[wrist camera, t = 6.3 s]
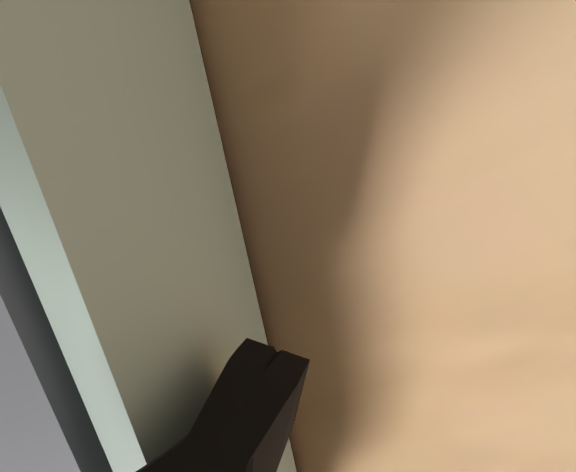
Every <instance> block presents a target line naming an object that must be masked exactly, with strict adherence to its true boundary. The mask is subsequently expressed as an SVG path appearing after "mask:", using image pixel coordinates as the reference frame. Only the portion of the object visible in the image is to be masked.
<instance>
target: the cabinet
mask: <svg viewBox="0 0 576 472" xmlns="http://www.w3.org/2000/svg"><path fill="white" fill-rule="evenodd" d="M0 472H113V471H112V468H111V466H110V464H109V461H108V459H107V456H106V454H105V452H104V449H103V447H102V445H101V442H100V440H99V438H98V435H97V433H96V431H95V428H94V426H93V424H92V421H91V419H90V416H89V414H88V412H87V409H86V407H85V405H84V402H83V400H82V398H81V395H80V393H79V391H78V388H77V386H76V383H75V381H74V379H73V376H72V374H71V372H70V369H69V367H68V365H67V362H66V360H65V358H64V355H63V353H62V350H61V348H60V346H59V343H58V341H57V339H56V336H55V334H54V332H53V329H52V327H51V325H50V322H49V320H48V317H47V315H46V313H45V310H44V308H43V306H42V303H41V301H40V299H39V296H38V294H37V292H36V289H35V287H34V284H33V282H32V280H31V277H30V275H29V273H28V270H27V268H26V266H25V263H24V261H23V259H22V256H21V254H20V251H19V249H18V247H17V244H16V242H15V240H14V237H13V235H12V233H11V230H10V228H9V226H8V223H7V221H6V219H5V216H4V214H3V211H2V209H1V207H0Z"/></svg>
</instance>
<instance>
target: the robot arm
mask: <svg viewBox="0 0 576 472" xmlns="http://www.w3.org/2000/svg"><path fill="white" fill-rule="evenodd" d="M309 361H310V360H309V359H306V358H303V357H300V356H297V355H295V354H292V353H289V352H286V351H283V350H281V351H279V352H277V351H276V350H275V348H274V347H272V346H269V345H266V344H263V343H260V342H257V341H255V340H252V339H249V338H246V339H245V340H244V341H243V343H242V344H241V345H240V346H239V347H238V348H237V349H236V351H235V352H234V353H233V354H232V356H231V357H230V358H229V360H228V361H227V363H226V365H225V367H224V369H223V371H222V372H221V374H220V376H219V378H218V380H217V382H216V383H215V385H214V387H213V389H212V391H211V393H210V395H209V397H208V398H207V400H206V402H205V404H204V406H203V408H202V410H201V412H200V413H199V415H198V417H197V419H196V421H195V423H194V425H193V426H192V428H191V430H190V432H189V434H188V435H187V436H186V437H184V438H183V439H182V440H181V441H179V442H178V443H176V444H175V445H174V446H172V447H171V448H170V449H168V450H167V451H165V452H164V453H163V454H161V455H160V456H158V457H157V458H155V459H154V460H152V461H151V462H149V463H148V464H146V465H145V466H143V467H142V468H140V469H139V470H137V471H136V472H277V469H278V466H279V463H280V461H281V458H282V455H283V453H284V450H285V447H286V444H287V441H288V439H289V436H290V433H291V430H292V428H293V424H294V420H295V416H296V412H297V408H298V404H299V400H300V396H301V392H302V388H303V384H304V381H305V377H306V373H307V369H308V365H309Z"/></svg>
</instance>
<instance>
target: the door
mask: <svg viewBox="0 0 576 472" xmlns="http://www.w3.org/2000/svg"><path fill="white" fill-rule="evenodd" d="M0 207H1V209H2V211H3V214H4V216H5V219H6V221H7V223H8V226H9V228H10V230H11V233H12V235H13V237H14V240H15V242H16V244H17V247H18V249H19V251H20V254H21V256H22V259H23V261H24V263H25V266H26V268H27V270H28V273H29V275H30V277H31V280H32V282H33V284H34V287H35V289H36V292H37V294H38V296H39V299H40V301H41V303H42V306H43V308H44V310H45V313H46V315H47V317H48V320H49V322H50V325H51V327H52V329H53V332H54V334H55V336H56V339H57V341H58V343H59V346H60V348H61V350H62V353H63V355H64V358H65V360H66V362H67V365H68V367H69V369H70V372H71V374H72V376H73V379H74V381H75V383H76V386H77V388H78V391H79V393H80V395H81V398H82V400H83V402H84V405H85V407H86V409H87V412H88V414H89V416H90V419H91V421H92V424H93V426H94V428H95V431H96V433H97V435H98V438H99V440H100V442H101V445H102V447H103V449H104V452H105V454H106V456H107V459H108V461H109V464H110V466H111V468H112V471H113V472H136V471H137V470H139V469H140V468H142V467H143V466H145V465H146V464H148V463H149V462H151V461H152V460H154V459H155V458H157V457H158V456H160V455H161V454H163V453H164V452H165V451H167V450H168V449H170V448H171V447H172V446H174V445H175V444H176V443H178V442H179V441H181V440H182V439H183V438H184V437H186V436H187V435H188V434H189V432H190V430H191V428H192V426H193V425H194V423H195V421H196V419H197V417H198V415H199V413H200V412H201V410H202V408H203V406H204V404H205V402H206V400H207V398H208V397H209V395H210V393H211V391H212V389H213V387H214V385H215V383H216V382H217V380H218V378H219V376H220V374H221V372H222V371H223V369H224V367H225V365H226V363H227V361H228V360H229V358H230V357H231V356H232V354H233V353H234V352H235V351H236V349H237V348H238V347H239V346H240V345H241V344H242V343H243V341H244V340H245V339H246V338H249V339H252V340H255V341H257V342H260V343H263V344H266V345H268V343H267V339H266V335H265V330H264V326H263V322H262V317H261V313H260V308H259V304H258V300H257V295H256V291H255V286H254V282H253V278H252V273H251V269H250V265H249V260H248V256H247V251H246V247H245V243H244V238H243V234H242V229H241V225H240V221H239V216H238V212H237V208H236V203H235V199H234V194H233V190H232V186H231V181H230V177H229V172H228V168H227V164H226V159H225V155H224V151H223V146H222V142H221V137H220V133H219V129H218V124H217V120H216V116H215V111H214V107H213V102H212V98H211V94H210V89H209V85H208V80H207V76H206V72H205V67H204V63H203V59H202V54H201V50H200V45H199V41H198V37H197V32H196V28H195V23H194V19H193V15H192V10H191V6H190V2H189V0H0ZM277 472H297V471H296V466H295V462H294V457H293V453H292V449H291V444H290V440H289V439H288V441H287V444H286V447H285V450H284V453H283V455H282V458H281V461H280V463H279V466H278V469H277Z"/></svg>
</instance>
